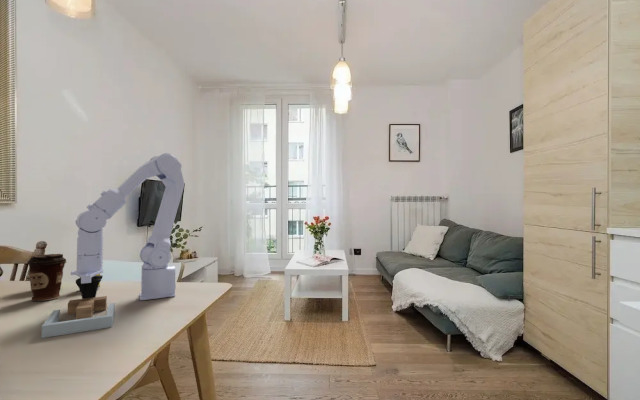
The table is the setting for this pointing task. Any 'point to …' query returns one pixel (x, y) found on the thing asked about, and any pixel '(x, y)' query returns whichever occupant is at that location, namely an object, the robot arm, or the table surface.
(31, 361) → the table surface
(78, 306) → the t block
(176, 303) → the table surface
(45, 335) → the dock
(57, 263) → the coffee cup
